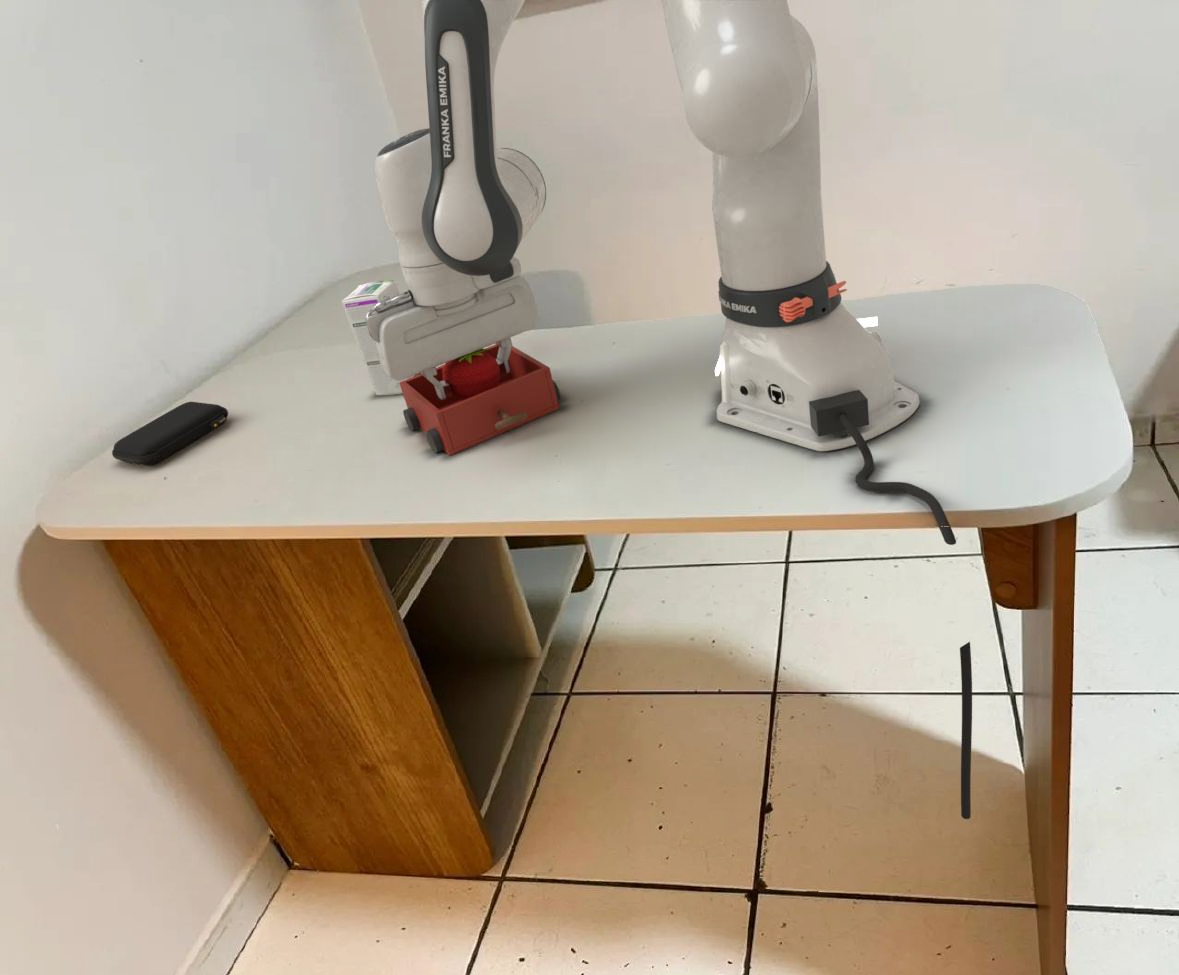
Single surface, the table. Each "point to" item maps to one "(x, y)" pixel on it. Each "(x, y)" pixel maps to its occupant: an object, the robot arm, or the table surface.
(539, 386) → the toy wagon
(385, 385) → the syrup box
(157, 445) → the carrying case
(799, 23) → the robot arm
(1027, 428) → the table surface
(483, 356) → the strawberry
